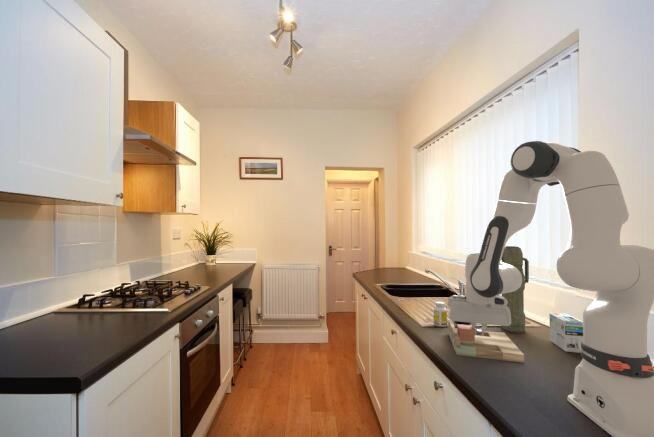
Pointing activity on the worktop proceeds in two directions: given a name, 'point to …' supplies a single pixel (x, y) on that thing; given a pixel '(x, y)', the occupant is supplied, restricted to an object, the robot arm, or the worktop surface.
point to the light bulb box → (566, 332)
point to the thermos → (516, 298)
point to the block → (466, 332)
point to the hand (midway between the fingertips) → (478, 335)
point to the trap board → (486, 346)
